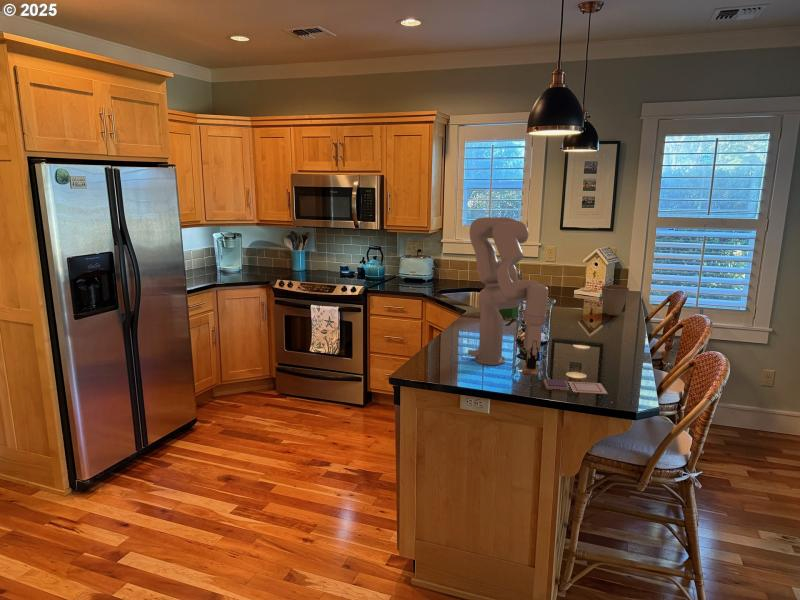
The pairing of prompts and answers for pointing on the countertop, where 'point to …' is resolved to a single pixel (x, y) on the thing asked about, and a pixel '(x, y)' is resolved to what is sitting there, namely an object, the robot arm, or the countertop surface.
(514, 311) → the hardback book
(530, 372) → the stamp
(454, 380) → the countertop surface
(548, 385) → the ink pad
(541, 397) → the countertop surface
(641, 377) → the countertop surface
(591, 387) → the note card
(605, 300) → the plant pot
